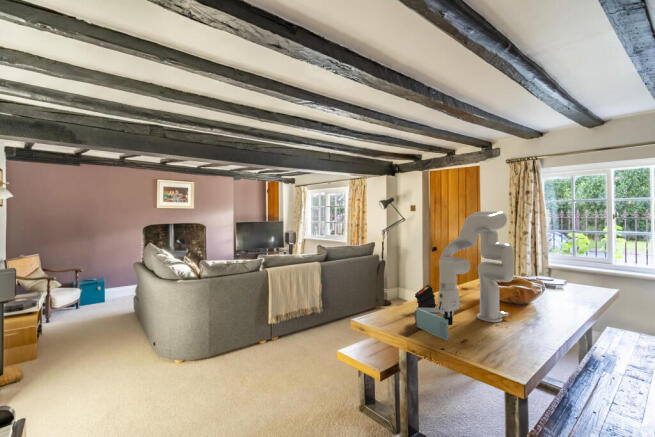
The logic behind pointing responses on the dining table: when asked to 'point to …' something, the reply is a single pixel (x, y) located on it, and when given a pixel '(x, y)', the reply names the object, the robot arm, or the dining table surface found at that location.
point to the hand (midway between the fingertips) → (448, 324)
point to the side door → (432, 323)
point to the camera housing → (431, 310)
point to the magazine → (425, 298)
